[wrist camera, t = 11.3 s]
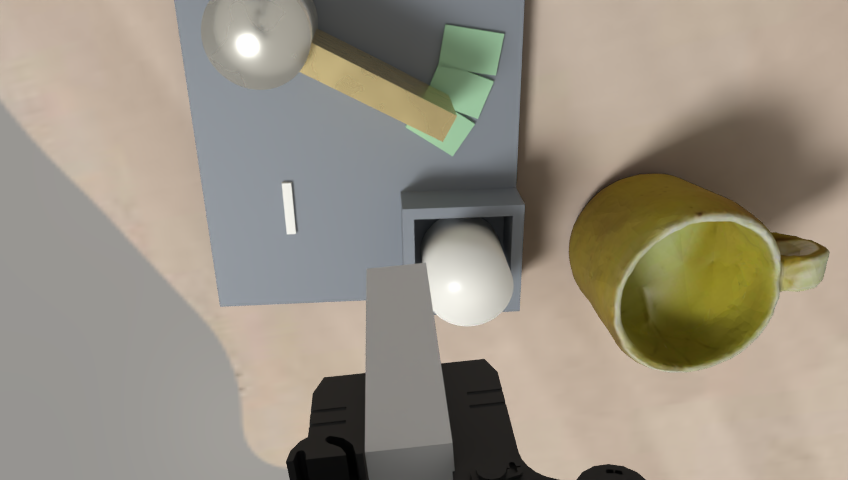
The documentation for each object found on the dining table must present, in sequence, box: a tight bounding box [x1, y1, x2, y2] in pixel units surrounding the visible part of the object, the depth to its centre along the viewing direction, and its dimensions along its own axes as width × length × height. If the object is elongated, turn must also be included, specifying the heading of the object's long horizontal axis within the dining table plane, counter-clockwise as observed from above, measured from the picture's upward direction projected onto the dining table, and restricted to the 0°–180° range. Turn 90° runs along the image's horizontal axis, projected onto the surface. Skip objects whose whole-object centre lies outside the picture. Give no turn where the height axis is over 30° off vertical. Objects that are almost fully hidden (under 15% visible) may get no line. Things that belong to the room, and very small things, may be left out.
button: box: [421, 217, 514, 326], centre depth 39 cm, size 4×4×4 cm
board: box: [174, 0, 525, 315], centre depth 37 cm, size 24×17×4 cm
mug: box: [569, 174, 829, 372], centre depth 40 cm, size 12×10×10 cm
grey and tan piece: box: [201, 0, 457, 142], centre depth 34 cm, size 12×5×5 cm, turn 62°
